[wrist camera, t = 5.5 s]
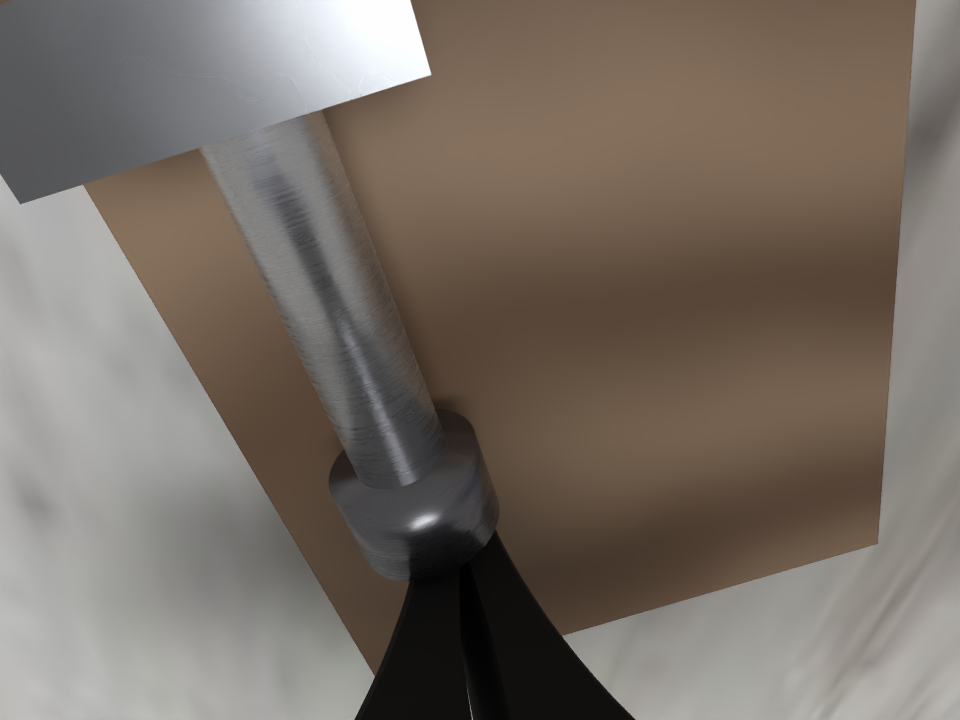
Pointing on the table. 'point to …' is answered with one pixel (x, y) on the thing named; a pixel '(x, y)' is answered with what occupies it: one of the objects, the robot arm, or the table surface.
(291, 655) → the table surface
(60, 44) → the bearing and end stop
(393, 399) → the steel shaft
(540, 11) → the walnut base with seat
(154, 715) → the table surface
